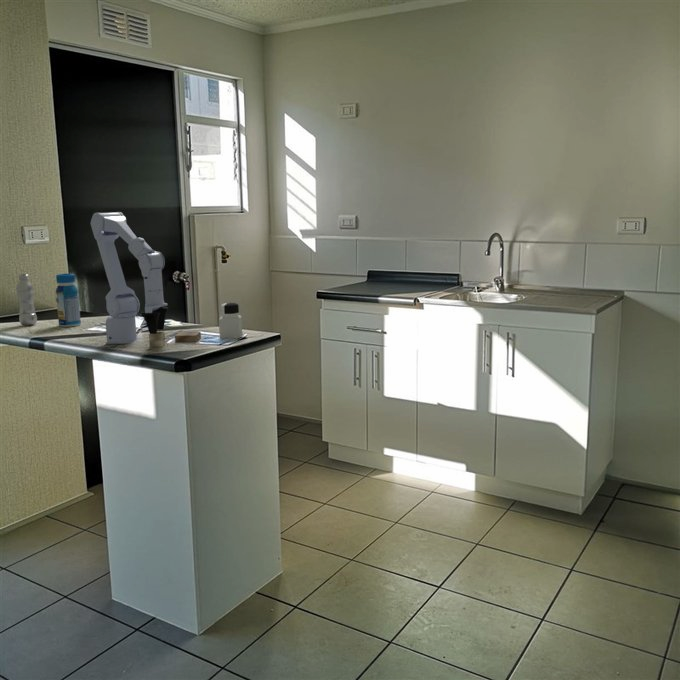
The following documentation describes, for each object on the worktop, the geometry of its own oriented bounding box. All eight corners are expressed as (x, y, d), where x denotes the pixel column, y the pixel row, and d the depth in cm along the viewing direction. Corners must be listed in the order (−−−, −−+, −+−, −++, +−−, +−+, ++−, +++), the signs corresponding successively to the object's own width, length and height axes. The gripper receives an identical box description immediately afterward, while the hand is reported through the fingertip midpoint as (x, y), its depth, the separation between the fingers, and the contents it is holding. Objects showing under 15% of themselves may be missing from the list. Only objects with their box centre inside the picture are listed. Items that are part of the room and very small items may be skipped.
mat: (167, 345, 238) (167, 343, 238) (177, 338, 250) (176, 336, 250) (198, 345, 237) (197, 343, 237) (206, 338, 249) (206, 336, 249)
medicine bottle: (242, 335, 255) (240, 301, 252) (240, 339, 248) (238, 304, 246) (222, 335, 255) (220, 302, 252) (219, 339, 248) (217, 305, 245)
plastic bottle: (22, 327, 278) (17, 275, 274) (17, 325, 283) (12, 274, 280) (39, 325, 282) (34, 274, 278) (34, 323, 287) (29, 273, 284)
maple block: (149, 349, 234) (148, 334, 233) (153, 346, 238) (152, 331, 237) (161, 349, 234) (160, 333, 233) (165, 346, 237) (164, 331, 237)
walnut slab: (175, 342, 240) (174, 335, 240) (180, 338, 247) (180, 331, 247) (195, 342, 240) (195, 335, 239) (200, 338, 247) (200, 331, 246)
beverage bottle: (76, 327, 277) (72, 275, 273) (55, 327, 277) (50, 275, 273) (84, 323, 285) (80, 273, 281) (63, 323, 285) (58, 273, 281)
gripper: (159, 292, 225) (162, 335, 227) (172, 287, 239) (174, 327, 241) (137, 293, 225) (140, 335, 228) (151, 287, 239) (154, 327, 242)
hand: (156, 331), depth 235 cm, fingers open, 7 cm apart
